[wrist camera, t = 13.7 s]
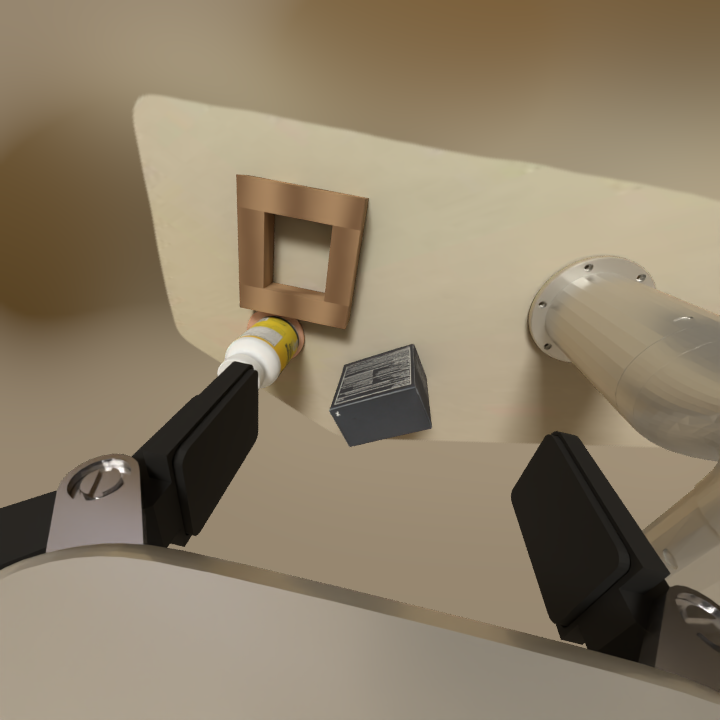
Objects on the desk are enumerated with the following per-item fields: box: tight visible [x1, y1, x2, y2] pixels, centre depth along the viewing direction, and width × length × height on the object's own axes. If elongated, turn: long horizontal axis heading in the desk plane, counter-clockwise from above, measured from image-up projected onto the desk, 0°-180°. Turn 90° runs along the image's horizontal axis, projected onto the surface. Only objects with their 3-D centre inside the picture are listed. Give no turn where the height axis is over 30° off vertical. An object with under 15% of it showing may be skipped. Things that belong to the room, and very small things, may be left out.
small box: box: [329, 344, 432, 447], centre depth 40 cm, size 11×6×10 cm, turn 113°
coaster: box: [247, 311, 305, 359], centre depth 44 cm, size 8×8×1 cm
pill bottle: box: [218, 316, 299, 390], centre depth 38 cm, size 6×6×12 cm
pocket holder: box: [236, 174, 369, 329], centre depth 37 cm, size 14×14×3 cm
